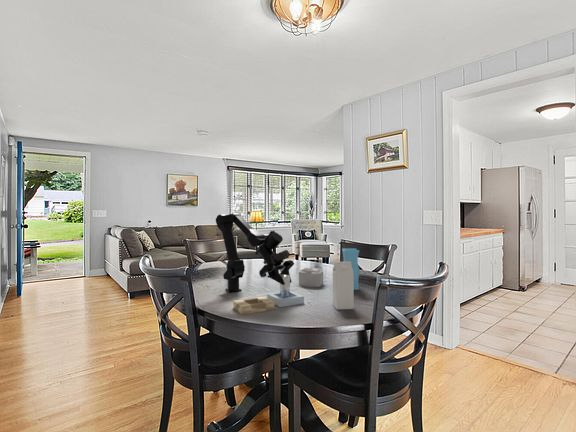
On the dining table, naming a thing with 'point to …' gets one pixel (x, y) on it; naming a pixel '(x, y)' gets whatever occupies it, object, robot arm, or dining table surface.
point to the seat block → (286, 299)
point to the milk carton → (343, 285)
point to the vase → (352, 263)
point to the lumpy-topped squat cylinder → (311, 277)
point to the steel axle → (285, 286)
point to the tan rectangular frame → (253, 305)
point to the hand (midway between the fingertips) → (287, 283)
